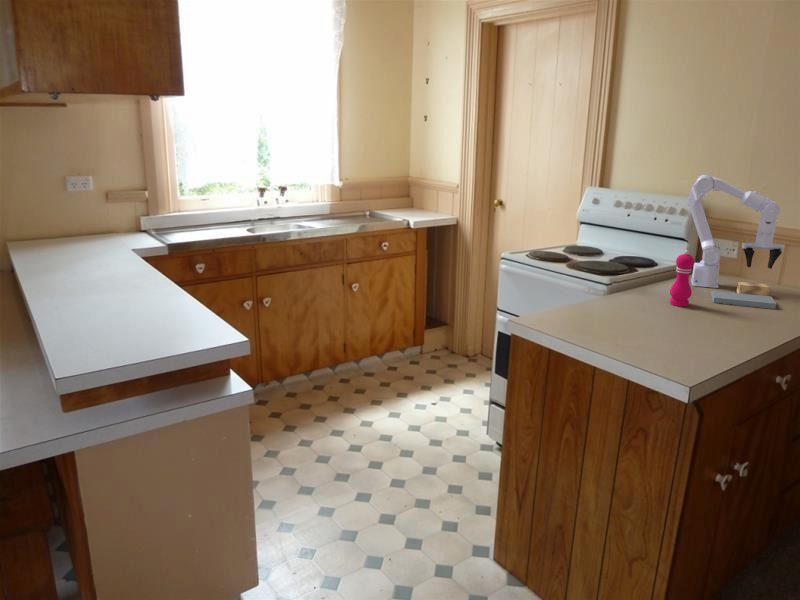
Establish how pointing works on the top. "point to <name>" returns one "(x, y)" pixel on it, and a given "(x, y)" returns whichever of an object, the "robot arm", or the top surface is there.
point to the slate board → (743, 299)
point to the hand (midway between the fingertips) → (759, 267)
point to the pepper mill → (682, 280)
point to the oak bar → (753, 288)
